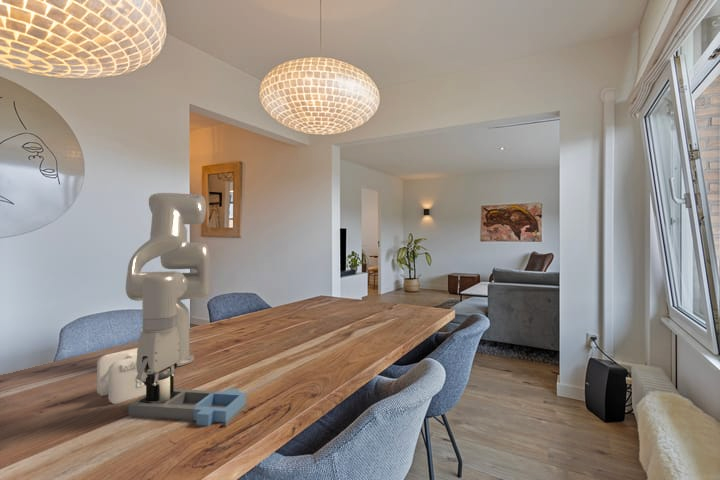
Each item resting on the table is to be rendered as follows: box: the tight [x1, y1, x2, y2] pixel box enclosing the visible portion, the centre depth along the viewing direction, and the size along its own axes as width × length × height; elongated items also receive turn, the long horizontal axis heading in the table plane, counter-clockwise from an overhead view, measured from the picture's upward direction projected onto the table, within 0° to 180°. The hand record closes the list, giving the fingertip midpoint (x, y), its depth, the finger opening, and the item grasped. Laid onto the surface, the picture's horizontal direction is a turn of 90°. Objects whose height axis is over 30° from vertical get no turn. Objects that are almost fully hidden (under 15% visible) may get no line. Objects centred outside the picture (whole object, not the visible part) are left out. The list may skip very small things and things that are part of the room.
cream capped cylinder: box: [150, 368, 170, 404], centre depth 89 cm, size 4×4×9 cm
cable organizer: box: [96, 347, 146, 405], centre depth 99 cm, size 15×11×12 cm
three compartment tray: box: [128, 388, 247, 427], centre depth 88 cm, size 25×14×4 cm, turn 81°
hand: (160, 395), depth 89 cm, fingers closed on cream capped cylinder, 4 cm apart
